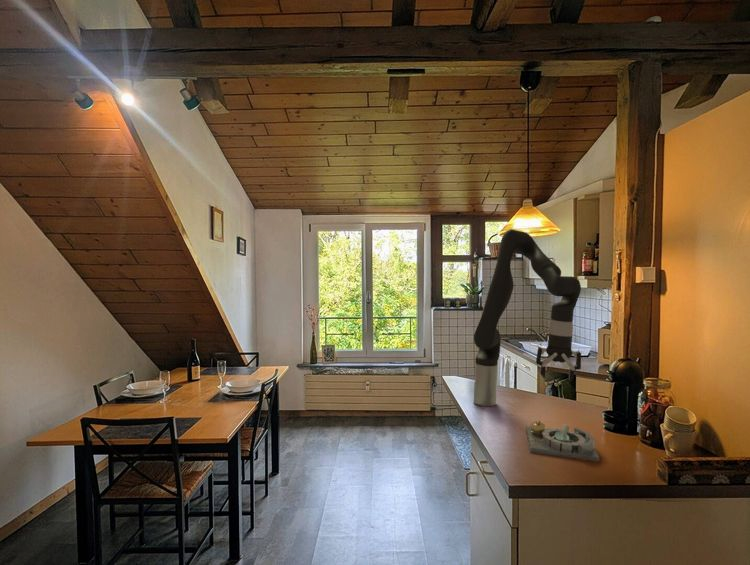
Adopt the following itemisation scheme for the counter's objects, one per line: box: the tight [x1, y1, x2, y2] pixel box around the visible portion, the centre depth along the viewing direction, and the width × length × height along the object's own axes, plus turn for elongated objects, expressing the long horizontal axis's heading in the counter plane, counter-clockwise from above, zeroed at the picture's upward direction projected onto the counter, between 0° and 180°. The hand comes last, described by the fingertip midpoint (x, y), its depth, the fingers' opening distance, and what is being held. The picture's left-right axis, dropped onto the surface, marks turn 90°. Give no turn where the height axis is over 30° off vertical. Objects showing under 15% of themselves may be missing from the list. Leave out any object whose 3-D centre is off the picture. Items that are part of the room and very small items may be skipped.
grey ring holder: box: [525, 420, 600, 463], centre depth 138 cm, size 20×18×6 cm
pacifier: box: [552, 423, 573, 442], centre depth 137 cm, size 7×6×6 cm
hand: (556, 378), depth 145 cm, fingers open, 8 cm apart
